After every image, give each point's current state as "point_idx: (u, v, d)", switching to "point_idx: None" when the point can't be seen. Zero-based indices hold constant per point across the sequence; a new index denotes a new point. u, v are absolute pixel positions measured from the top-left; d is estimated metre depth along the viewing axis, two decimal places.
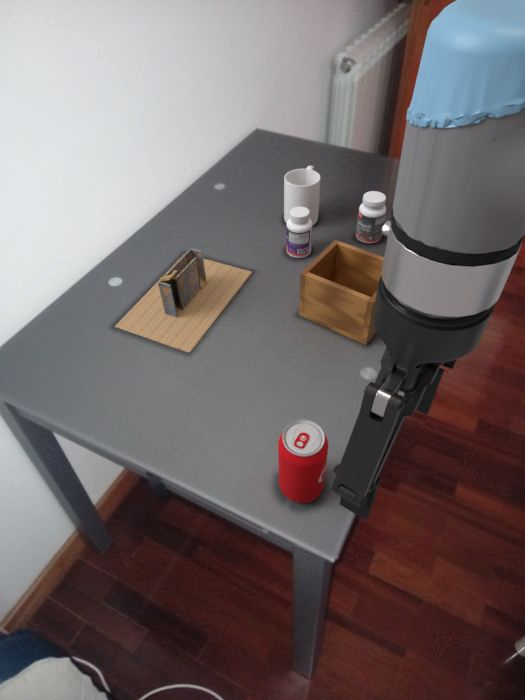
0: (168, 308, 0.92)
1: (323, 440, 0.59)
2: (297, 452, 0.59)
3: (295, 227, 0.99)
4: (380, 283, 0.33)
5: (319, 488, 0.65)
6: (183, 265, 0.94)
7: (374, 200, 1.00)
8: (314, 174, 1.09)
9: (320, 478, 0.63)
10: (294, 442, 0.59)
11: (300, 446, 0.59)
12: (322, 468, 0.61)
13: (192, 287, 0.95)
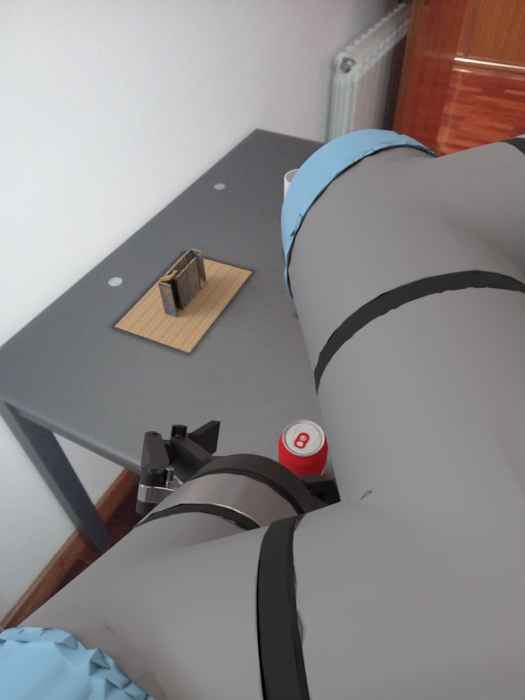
0: (168, 308, 0.92)
1: (323, 440, 0.59)
2: (297, 452, 0.59)
3: None
4: None
5: None
6: (183, 265, 0.94)
7: None
8: None
9: None
10: (294, 442, 0.59)
11: (300, 446, 0.59)
12: (322, 468, 0.61)
13: (192, 287, 0.95)
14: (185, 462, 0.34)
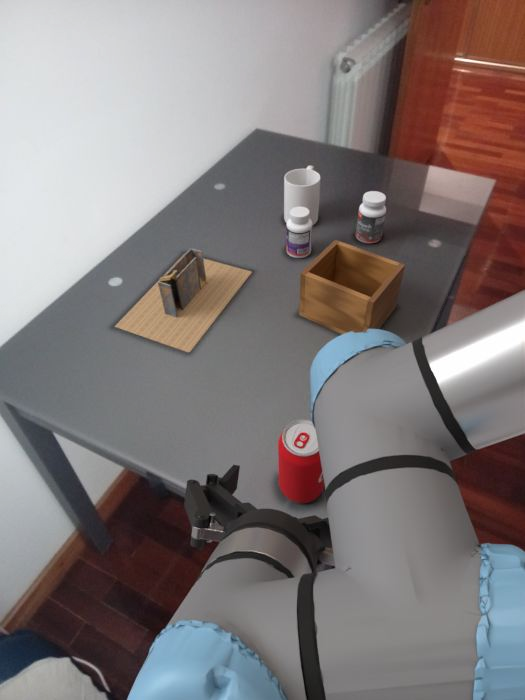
0: (168, 308, 0.92)
1: None
2: (297, 452, 0.59)
3: (295, 227, 0.99)
4: None
5: (319, 488, 0.65)
6: (183, 265, 0.94)
7: (374, 200, 1.00)
8: (314, 174, 1.09)
9: (320, 478, 0.63)
10: (294, 442, 0.59)
11: (300, 446, 0.59)
12: None
13: (192, 287, 0.95)
14: (219, 505, 0.47)
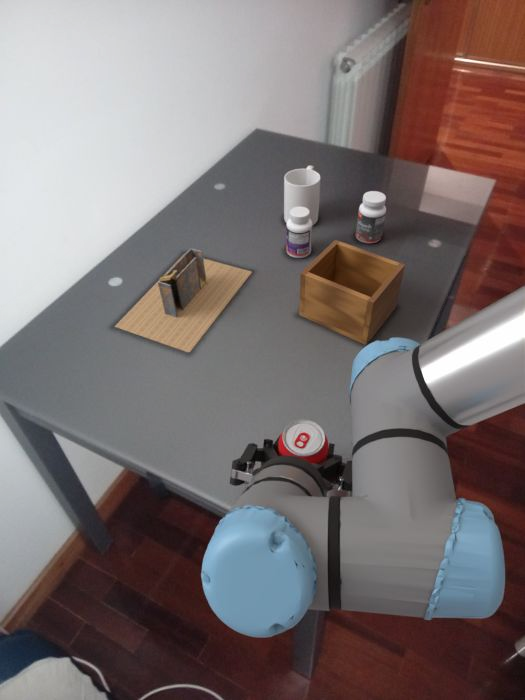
0: (168, 308, 0.92)
1: (323, 440, 0.59)
2: (297, 452, 0.59)
3: (295, 227, 0.99)
4: None
5: None
6: (183, 265, 0.94)
7: (374, 200, 1.00)
8: (314, 174, 1.09)
9: None
10: (295, 442, 0.59)
11: (301, 446, 0.59)
12: None
13: (192, 287, 0.95)
14: (265, 460, 0.59)
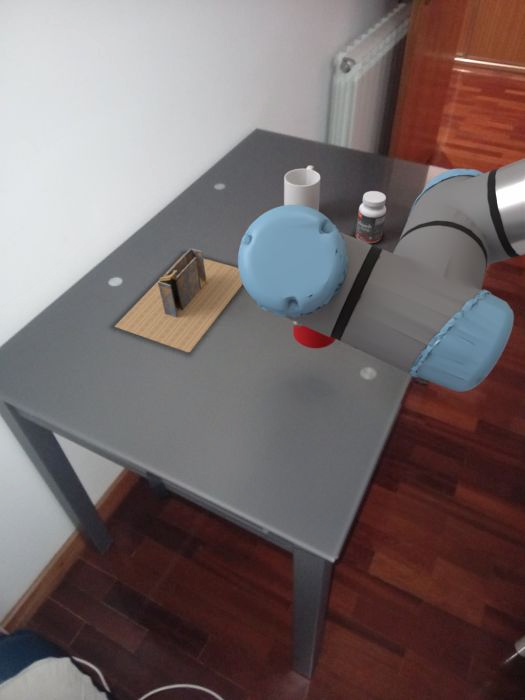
0: (168, 308, 0.92)
1: None
2: None
3: None
4: None
5: None
6: (183, 265, 0.94)
7: (374, 200, 1.00)
8: (314, 174, 1.09)
9: None
10: None
11: None
12: None
13: (192, 287, 0.95)
14: None
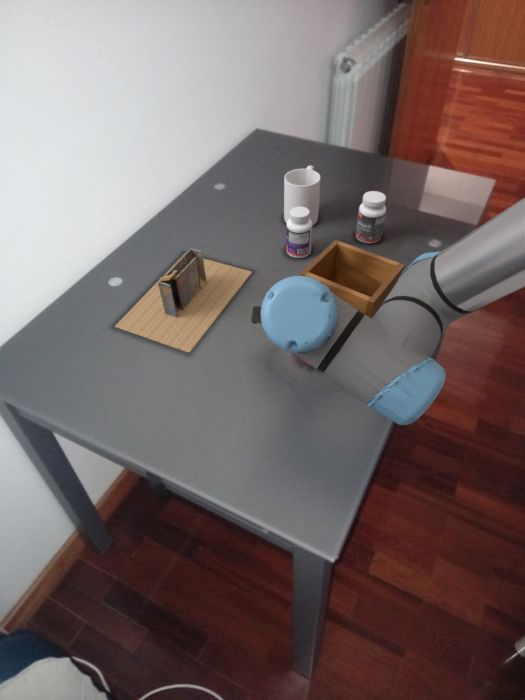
0: (168, 308, 0.92)
1: None
2: None
3: (295, 227, 0.99)
4: None
5: None
6: (183, 265, 0.94)
7: (374, 200, 1.00)
8: (314, 174, 1.09)
9: None
10: None
11: None
12: None
13: (192, 287, 0.95)
14: None
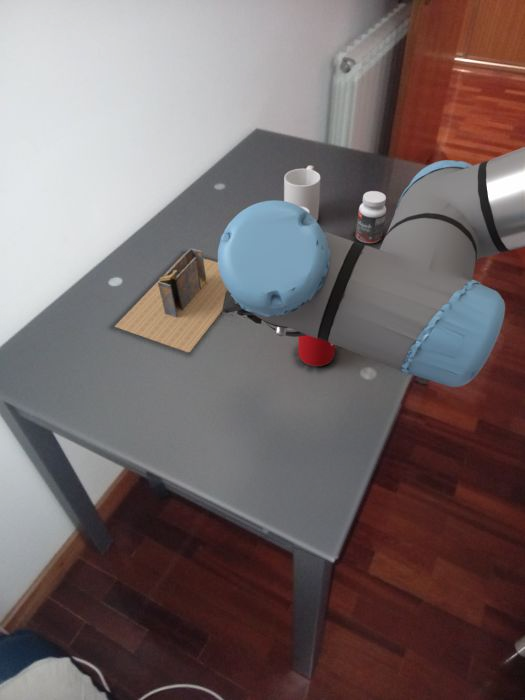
0: (168, 308, 0.92)
1: None
2: None
3: None
4: (299, 331, 0.47)
5: (331, 352, 0.81)
6: (183, 265, 0.94)
7: (374, 200, 1.00)
8: (314, 174, 1.09)
9: None
10: None
11: None
12: None
13: (192, 287, 0.95)
14: None
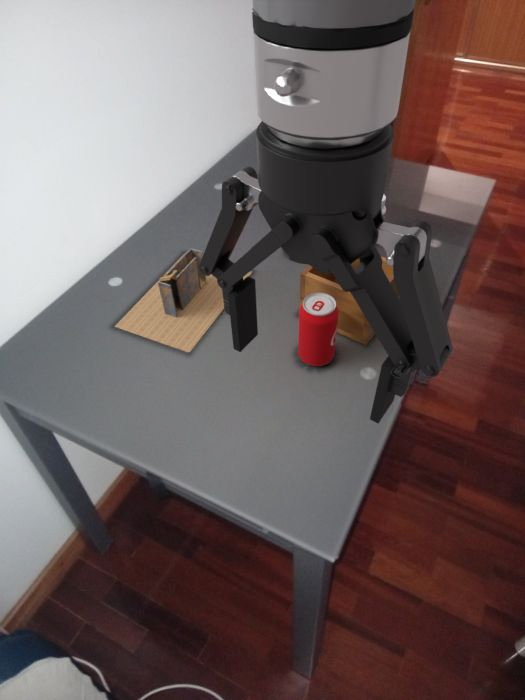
0: (168, 308, 0.92)
1: (335, 305, 0.76)
2: (315, 313, 0.75)
3: None
4: (311, 159, 0.25)
5: (331, 352, 0.81)
6: (183, 265, 0.94)
7: None
8: None
9: (332, 341, 0.79)
10: (312, 307, 0.76)
11: (317, 309, 0.75)
12: (334, 330, 0.78)
13: (192, 287, 0.95)
14: None
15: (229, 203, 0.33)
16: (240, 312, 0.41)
